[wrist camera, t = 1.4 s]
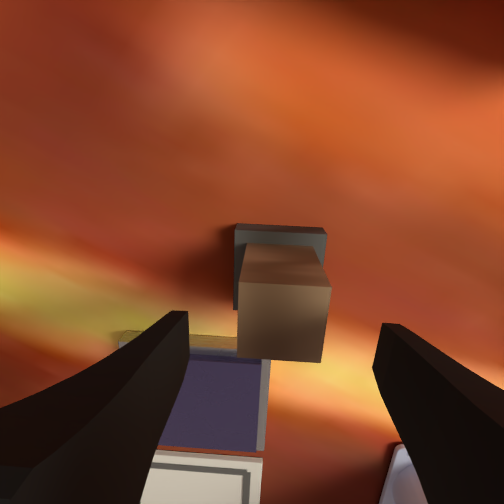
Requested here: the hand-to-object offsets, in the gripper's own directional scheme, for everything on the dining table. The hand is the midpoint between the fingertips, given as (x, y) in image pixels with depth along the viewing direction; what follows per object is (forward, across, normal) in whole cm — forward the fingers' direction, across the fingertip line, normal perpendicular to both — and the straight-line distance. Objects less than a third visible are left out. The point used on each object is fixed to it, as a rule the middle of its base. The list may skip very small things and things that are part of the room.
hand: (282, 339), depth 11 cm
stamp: (+8, 0, 0) cm, 8 cm away
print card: (+7, +6, +23) cm, 25 cm away
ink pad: (+8, +5, +10) cm, 14 cm away
